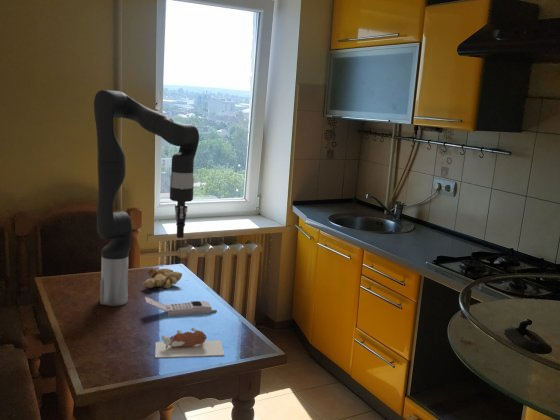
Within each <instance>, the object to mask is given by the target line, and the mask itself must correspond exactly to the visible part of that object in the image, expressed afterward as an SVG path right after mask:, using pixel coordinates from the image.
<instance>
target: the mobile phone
mask: <svg viewBox="0 0 560 420" xmlns="http://www.w3.org/2000/svg"><path fill="white" fill-rule="evenodd" d="M144 302H145V304H147V305H150V306H153V307H155V308H156V309H157V308H158V310H162V311H164V312H166V314H167V316H168V317H173V316H175V317H176V316H190V315H203V314H204V315H205V314H209V313H210V314H211V313H217V311H218V310H217V309H212V305H211V304H210V302H209V301H205V300H204V301H202V300H196V301H193V300H191V301H190V302H182V303H169V304H168V303H167V304H163V303H162V302H160V301H157V300H155V299H152V298H151V297H148V296H144Z"/></svg>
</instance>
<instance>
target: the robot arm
mask: <svg viewBox="0 0 560 420" xmlns="http://www.w3.org/2000/svg"><path fill="white" fill-rule="evenodd" d="M93 111H94V121H95V128H96V140H97V141H96V142H97V144H96V145H97V181H98V182H97V183H98V184H97V185H98V186H97V187H98V190H97V191H98V194H97V196H98V197H97V208H96V209H97V211H96V230H97V234H98V236H99V237H100V238H101V239H102V240H105V241H106V240H111V241H110V242H109V243H108V244H107V245H105V246H103V248H102V249H101V270H100V271H101V272H100V273H101V277H100V305H105V306H109V307H110V306H113V307H116V306H118V307H119V306H123V305H125V304H127V303H128V300H129V299H128V297H129V291H128V290H129V252H130V250H131V247H132V246H131V243H132V230H133V227H132V226H133V225H132V220H131V219H132V218H131V217H130V214H129V213H128V212H127V211H124V210H123V211H121V210H119V211H114V204H115V200H116V196H117V194H118V192H119V190H120V188H121V186H122V185H123V182H124V180H125V178H126V156H125V152H124V150H123V148H122V146H121V144H120V142H119V140H118V138H117V136H116V133H115V123H114V119H120V118H122V119H125V120H126V119H127V120H131V121H134V122H136V123H138V124H139V126H140V127H141V128H143V129H144V130H145V131H147V132H149V133H151V134H153V135H156V136H158V137H161V138H162V139H163V140H164V141H166V142H167V143H169V144H170V145H172V146H175V147H179V150H178V152H176V153H174V154H173V155H172V156H171V171H170V172H171V173H170V179H169V181H170V182H169V199H170V200H171V201H173V202H177V204H175V205H174V212H175V214H174V216H175V217H174V218H175V222H176V238H177V239H183V238H184V233H185V232H184V231H185V229H184V228H185V226H186V221H187V214H188V205H187V204H186V203H187V202H192V201H193V200H194V185H195V184H194V183H195V182H194V181H195V179H194V178H195V177H194V166H195V165H194V163H195V162H194V160H195V156H196V154H197V150H198V148H199V142H200V134H199V130H198V128H197V127H196V126H195V125H194V124H191V123H178V122H175V121H174V120H173V119H172V118H171V117H170V116H167V115H166V114H164V113H160V112H159V111H156V110H154V109H152V108H149V107H147V106H145V105H143V104H141V103H139V102H138V101H136V100H135V99H133V98H132V97H130V96H129V95H127V94H126V93H124V92H122V91H119V90H112V89H110V90H109V89H101V90H99V91H97V92H96V94H95V95H94V99H93Z"/></svg>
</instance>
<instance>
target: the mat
mask: <svg viewBox="0 0 560 420" xmlns="http://www.w3.org/2000/svg"><path fill="white" fill-rule="evenodd" d="M154 351H155V354H154V356H155V357H154V358H155V359H168V358H191V357H192V358H198V357H223V356H224V357H225V352H224V348H223V343H222V340H221V339H219V340H205V342H204V343H202V344H198V345H193V346H189V347H172V346H170V345H169V346H168V347H167V349H166V344H164V341H156V342H155V350H154Z"/></svg>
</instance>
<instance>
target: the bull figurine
mask: <svg viewBox="0 0 560 420" xmlns="http://www.w3.org/2000/svg"><path fill="white" fill-rule="evenodd" d="M190 330H191V331H185V332H183V333H182V331H181V330H179V329H178V330H177V333H176V334H174V335H172V336H171V337H170V336H166V335H161V340H162V342H164V344H166V349H167V347H168V346H169V345H170V346H172V347H189V346H193V345H198V344H202V343H204V342H205V341H206V339H207V335H206V334H205V333H204V331H203V330H201V329H200V330H198V329H197V328H195V327H191V328H190Z"/></svg>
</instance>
